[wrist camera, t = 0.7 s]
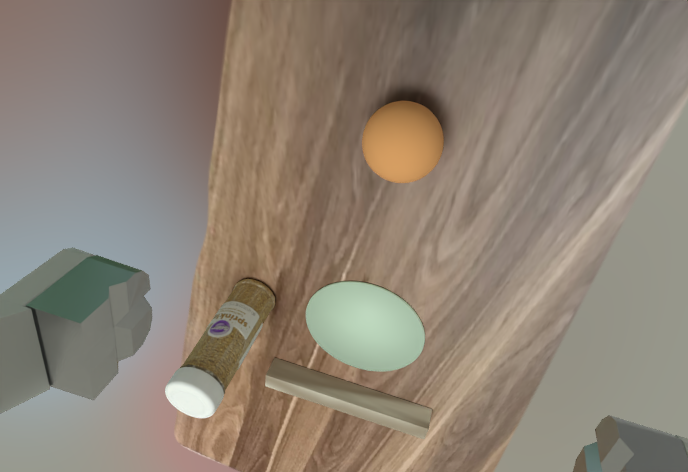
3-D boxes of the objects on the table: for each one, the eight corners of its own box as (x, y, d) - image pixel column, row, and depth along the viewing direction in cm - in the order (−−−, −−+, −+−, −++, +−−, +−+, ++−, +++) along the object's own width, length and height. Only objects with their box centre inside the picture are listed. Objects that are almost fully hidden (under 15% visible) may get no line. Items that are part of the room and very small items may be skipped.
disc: (311, 266, 48) (311, 267, 48) (438, 303, 47) (437, 305, 46) (302, 348, 56) (301, 350, 56) (410, 383, 54) (410, 384, 54)
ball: (379, 80, 36) (359, 111, 32) (457, 98, 35) (447, 132, 31) (367, 149, 40) (347, 185, 35) (438, 168, 39) (426, 207, 35)
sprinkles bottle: (264, 274, 51) (196, 384, 40) (283, 309, 53) (223, 421, 43) (227, 279, 53) (152, 384, 42) (247, 312, 55) (180, 420, 45)
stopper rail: (274, 357, 58) (265, 375, 56) (432, 409, 55) (428, 429, 54) (274, 368, 59) (265, 386, 57) (427, 419, 57) (424, 439, 55)
